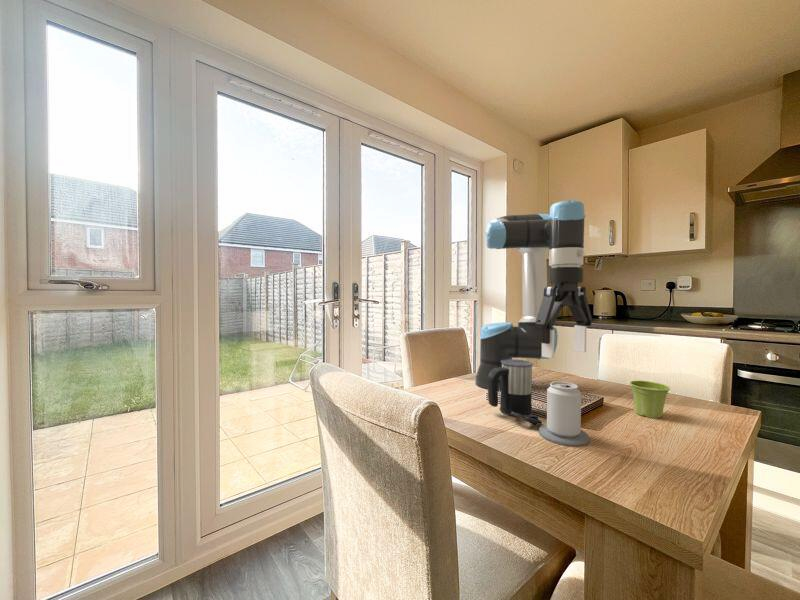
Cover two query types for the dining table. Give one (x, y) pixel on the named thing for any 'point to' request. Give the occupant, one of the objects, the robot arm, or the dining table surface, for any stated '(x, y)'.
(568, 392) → the can
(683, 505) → the dining table surface
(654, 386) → the plant pot
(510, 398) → the milk frother
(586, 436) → the coaster
